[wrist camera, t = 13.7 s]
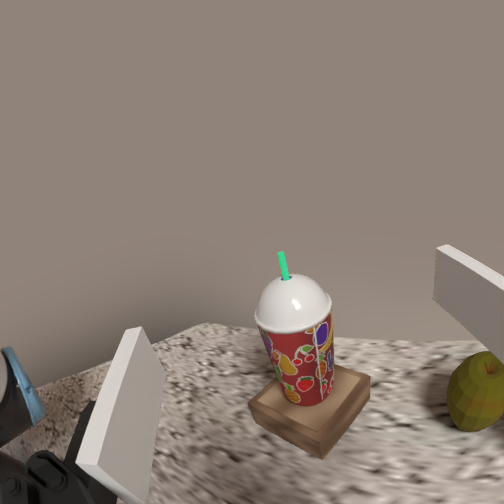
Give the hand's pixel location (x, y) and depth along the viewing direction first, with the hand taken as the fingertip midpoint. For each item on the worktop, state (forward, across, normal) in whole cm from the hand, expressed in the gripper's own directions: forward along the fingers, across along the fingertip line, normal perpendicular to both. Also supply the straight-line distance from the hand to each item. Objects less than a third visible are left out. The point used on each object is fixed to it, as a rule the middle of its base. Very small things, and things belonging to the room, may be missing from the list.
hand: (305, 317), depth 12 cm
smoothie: (+16, +2, -24) cm, 29 cm away
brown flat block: (+16, +2, -29) cm, 34 cm away
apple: (+4, +22, -29) cm, 37 cm away
